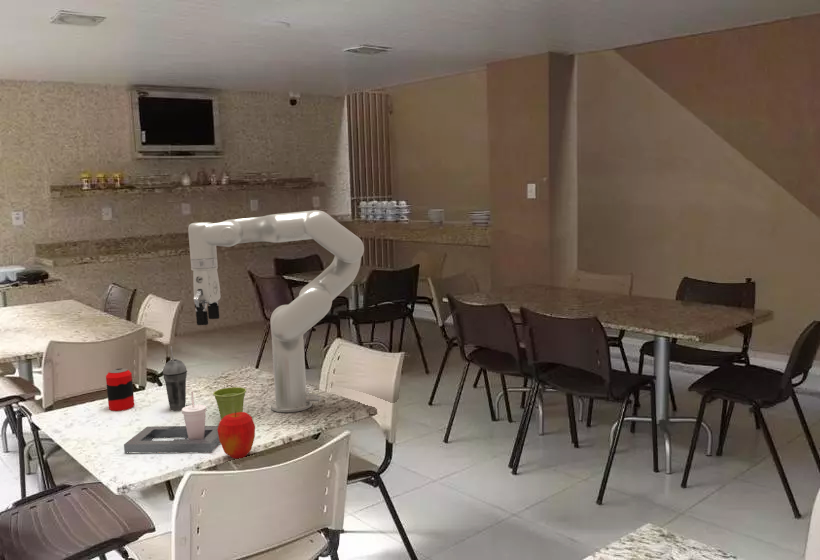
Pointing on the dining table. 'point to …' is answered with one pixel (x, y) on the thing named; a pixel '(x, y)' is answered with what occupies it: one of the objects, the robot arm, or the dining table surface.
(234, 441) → the apple
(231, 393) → the plant pot
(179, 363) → the beverage cup
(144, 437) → the keyhole plate
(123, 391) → the soda can
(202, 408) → the smoothie
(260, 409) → the dining table surface
